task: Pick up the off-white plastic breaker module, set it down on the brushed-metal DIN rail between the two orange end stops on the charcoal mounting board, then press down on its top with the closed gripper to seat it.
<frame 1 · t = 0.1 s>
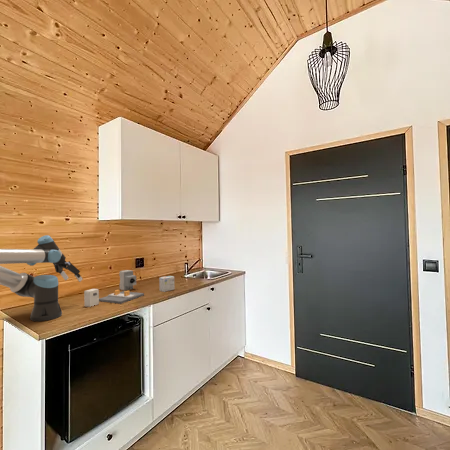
hand: (74, 279, 189), 15 cm above the worktop, tool tilted 35°, fingers open, 13 cm apart
light bulb box: (167, 290, 221), on the worktop
circuit breaker: (128, 289, 225), on the worktop
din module: (91, 305, 180), on the worktop
din rail board: (121, 298, 197), on the worktop
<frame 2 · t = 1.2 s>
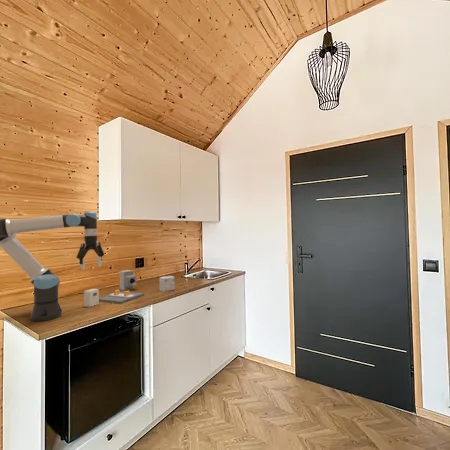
hand: (91, 267, 180), 25 cm above the worktop, tool pointing down, fingers open, 13 cm apart
nothing on the worktop moved.
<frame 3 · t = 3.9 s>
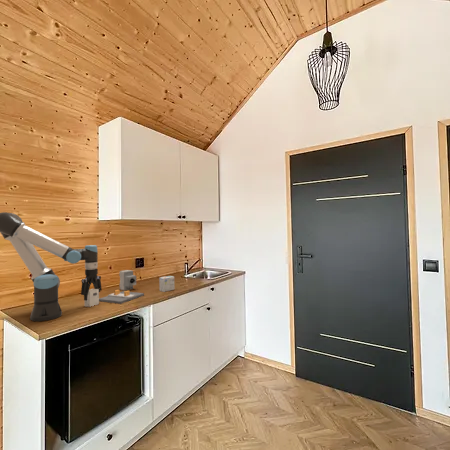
hand: (91, 303, 180), 1 cm above the worktop, tool pointing down, fingers closed on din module, 7 cm apart
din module: (91, 305, 180), on the worktop, touching gripper
everything else where it was.
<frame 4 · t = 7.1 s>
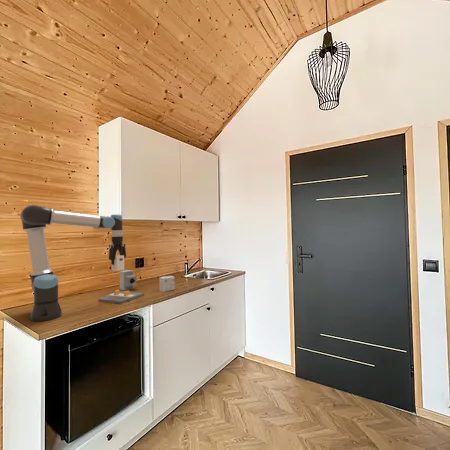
hand: (118, 268, 195), 22 cm above the worktop, tool pointing down, fingers closed on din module, 7 cm apart
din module: (118, 269, 195), point 21 cm above the worktop, touching gripper
everything else where it was.
when the fingers open (5 cm above the worktop, at t = 10.2 s): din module drops 1 cm, resting on din rail board.
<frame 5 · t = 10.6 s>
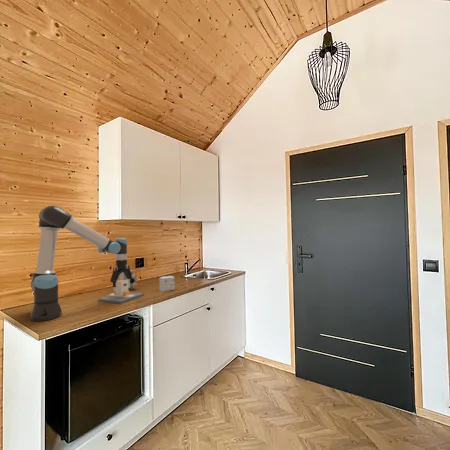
hand: (121, 289, 197), 6 cm above the worktop, tool pointing down, fingers open, 12 cm apart
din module: (122, 294, 197), point 2 cm above the worktop, touching din rail board
everything else where it was.
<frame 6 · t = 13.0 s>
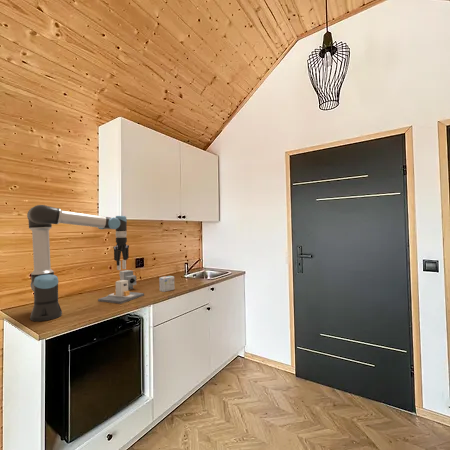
hand: (121, 269, 197), 21 cm above the worktop, tool pointing down, fingers open, 4 cm apart
nothing on the worktop moved.
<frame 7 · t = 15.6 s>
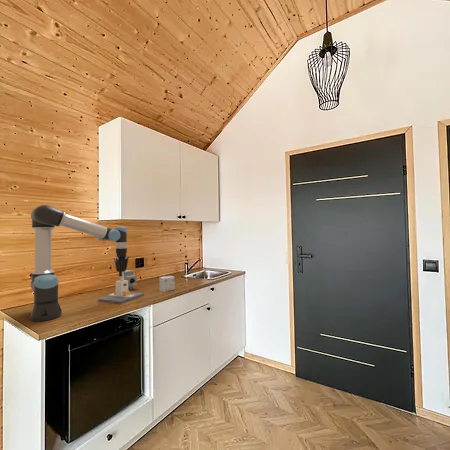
hand: (121, 280, 197), 13 cm above the worktop, tool pointing down, fingers closed
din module: (122, 294, 197), point 2 cm above the worktop, touching din rail board, gripper
everything else where it was.
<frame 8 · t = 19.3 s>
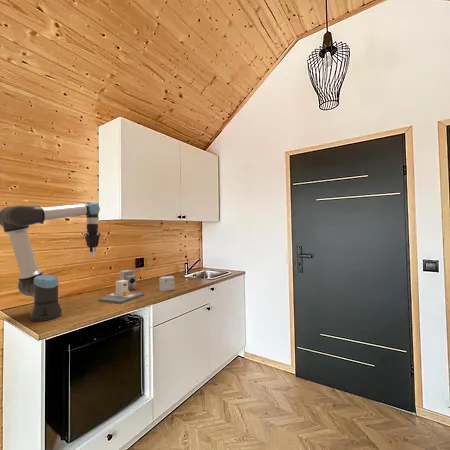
hand: (92, 256, 197), 30 cm above the worktop, tool pointing down, fingers closed
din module: (122, 294, 197), point 2 cm above the worktop, touching din rail board
everything else where it was.
at the end: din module 0.1 cm off-centre on the din rail board, point 2.3 cm above the din rail board's base; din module tilted 0°; the gripper is holding nothing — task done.
